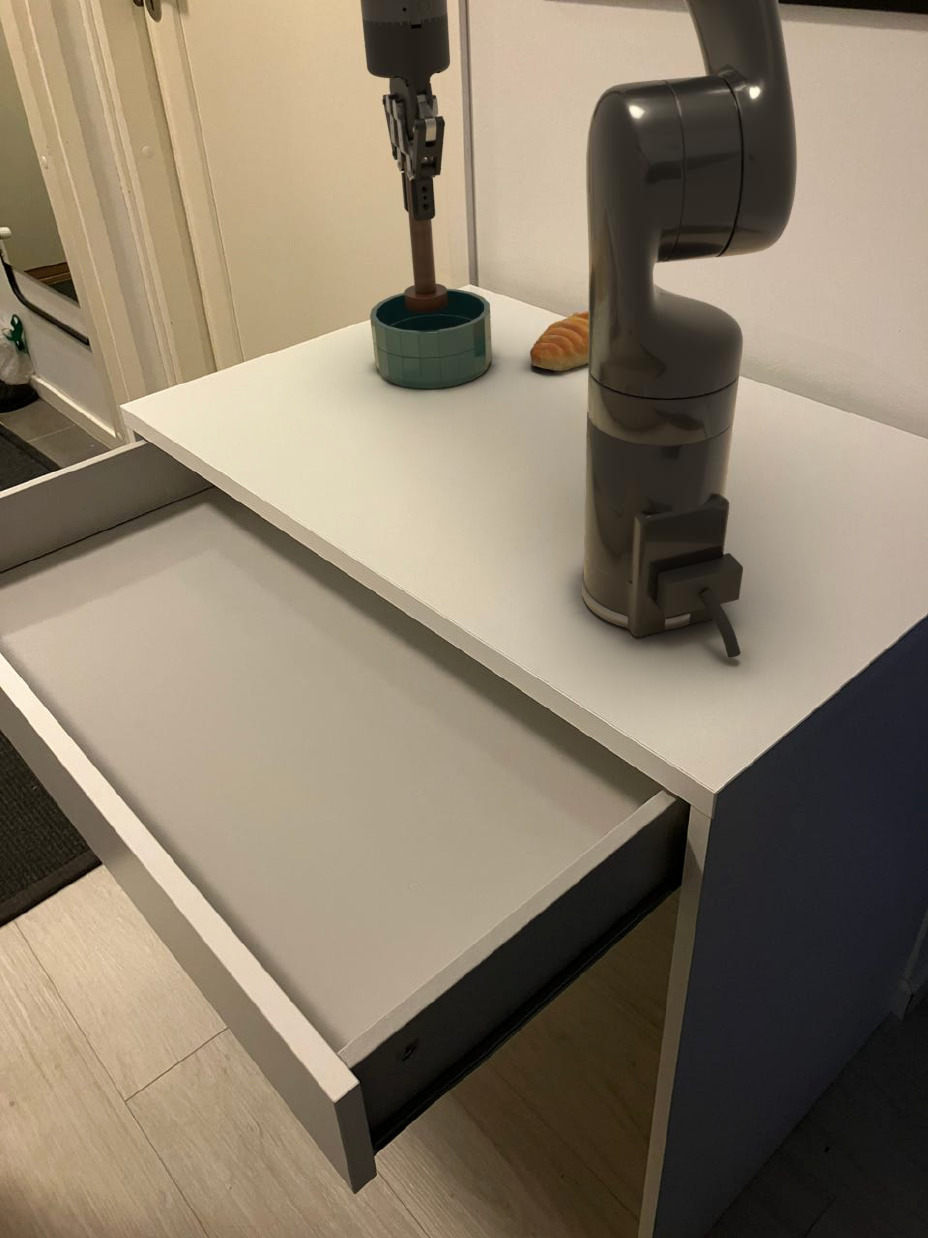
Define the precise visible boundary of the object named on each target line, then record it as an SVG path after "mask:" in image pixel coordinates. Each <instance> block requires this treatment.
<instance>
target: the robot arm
mask: <svg viewBox="0 0 928 1238" xmlns="http://www.w3.org/2000/svg"><path fill="white" fill-rule="evenodd" d="M359 1H360V11H361V21H362V28H363V29H362V30H363V31H362V33H363V39H364V40H363V41H364V51H365V60H366V61H365V62H366V69H367V71H368V73H369V74H370V75H372V76H373V77H377V78H381V79H388V81H389V82H388V84H389V85H388V86H389V87H388V88H389V89H388V90H389V93H387V94H383V95H382V100H381V101H382V105H383V109H384V114H385V120H386V125H387V130H388V136H389V141H390V146H391V156H392V157H393V160H394V161H397V162H396V163H397V164H396V166H397V169H398V170H399V172H401V185H402V198H403V208H404V210H405V211H406V212H407V213H408V203H407V191H406V179H405V167H404V161H405V160H406V161H407V176H408V177H409V189H410V202H411V214H412V217H413V218H414V219H415V220H416V221H423V220H430V219H431V220H432V219H434V218H435V216H436V203H435V202H436V201H435V188H434V179H435V178H436V176H441V172H442V163H443V162H442V161H443V149H444V139H445V126H446V122H445V119H444V116H443V115H439V106H438V98H437V95H436V94H433V89H432V83H431V78H432V77H433V75H435V74H441V73H443V72H445V71H446V70H447V69H448V68H450V66H451V65H450V64H451V54H450V33H449V16H448V15H449V14H448V13H449V12H448V0H359ZM683 2H684V4H685V7H686V9H687V11H688V14H689V16H690V19H691V22H692V24H693V28H694V31H695V35H696V38H697V41H698V45H699V46H698V47H699V49H700V55H701V58H702V64H703V68H704V73H705V75H703V76H691V77H690V76H688V77H679V78H677V77H676V78H665V79H654V80H652V79H651V80H643V81H632V82H625V83H620V84H615V85H612V86H611V87H609V88H607V89H605V91H604V92H602V94H601V95H600V96H599V98H598V99H597V101H596V103H595V105H594V108H593V110H592V114H591V117H590V121H589V127H588V130H587V138H586V139H587V140H586V155H585V189H586V194H585V195H586V211H587V212H586V214H587V215H586V216H587V217H586V219H587V237H588V238H587V240H588V241H587V243H588V244H587V245H588V246H587V247H588V248H587V249H588V311H589V363H588V371H587V409H586V410H587V412H586V442H585V443H586V447H585V448H586V449H585V483H584V484H585V485H584V487H585V489H584V493H585V494H584V526H583V527H584V528H583V529H584V531H583V572H582V575H581V595H582V598H583V601H584V602H585V604H586V606H587V607H588V609H590V610H591V611H592V612H593V613H594V614H595V615H597V616H598V617H599V618H601V619H604V620H605V621H607V622H608V623H611V624H613V625H616V626H619V627H622V628H626V629H627V630H628V631H629V632H630V633H631V634H632V635H633V636H634V637H636V638H640V637H645V636H649V635H652V634H653V635H654V634H657V633H662V632H665V631H669V630H674V629H678V628H683V627H686V626H690V625H693V624H698V623H701V622H707V621H709V620H713V622H714V624H715V625H716V627H717V629H718V631H719V633H720V635H721V638H722V641H723V644H724V647H725V651H726V655H727V657H728V658H730V659H732V658H737V657H738V656H740V655H741V650H740V646H739V643H738V642H739V641H738V638H737V635H736V632H735V630H734V627H733V625H732V623H731V621H730V619H729V617H728V615H727V613H726V612H725V610H724V609H723V607H722V605H723V604H726V603H731V602H734V601H738V600H739V599H740V593H741V586H742V578H743V571H744V566H743V565H742V564H741V563H740V562H739V561H738V560H737V559H736V558H735V557H734V555H732V553H730V552H728V553H725V547H726V538H727V530H728V522H729V515H730V506H731V505H730V501H729V500H728V499H727V498H726V497H725V496H726V488H727V487H726V486H727V478H728V471H729V461H730V455H731V454H730V453H731V447H732V446H731V445H732V437H733V430H734V429H733V428H734V419H735V413H736V406H737V405H736V404H737V397H738V389H739V380H740V373H741V367H742V366H741V365H742V357H743V346H744V338H743V337H744V336H743V331H742V328H741V326H740V324H739V322H738V321H737V320H736V319H735V318H734V316H732V314H731V315H730V314H729V313H728V312H727V311H725V310H723V309H722V308H720V307H717V306H716V305H713V304H712V303H708V302H705V301H703V300H698V299H695V298H692V297H688V296H685V295H681V294H678V293H674V292H671V291H670V290H667V289H664V288H663V287H660V286H659V285H657V284H655V283H654V268H655V265H656V264H661V263H671V262H682V261H692V260H693V261H694V260H703V259H713V258H725V257H733V256H734V257H735V256H742V255H748V254H754V253H758V252H764V251H765V250H768V249H770V248H771V247H772V246H773V245H775V244H776V243H777V242H778V241H779V240H780V239H781V237H782V236H783V234H784V232H785V230H786V229H787V226H788V224H789V221H790V218H791V214H792V211H793V207H794V202H795V197H796V187H797V185H796V184H797V172H798V155H797V154H798V149H797V147H798V146H797V133H796V120H795V110H794V109H795V108H794V101H793V95H792V94H793V93H792V86H791V79H790V70H789V66H788V57H787V52H786V44H785V39H784V38H785V37H784V32H783V31H784V30H783V23H782V18H781V17H782V16H781V12H780V3H779V0H683ZM423 158H425V159H427V162H424V163H421V160H422V159H423ZM721 604H722V605H721Z"/></svg>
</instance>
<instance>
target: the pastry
mask: <svg viewBox="0 0 928 1238" xmlns="http://www.w3.org/2000/svg"><path fill="white" fill-rule="evenodd" d="M529 353H530V355H529V356H530V363H531V366H535V367H538V368H541V369H547V370H550V371H556V372H557V371H558V372H560V373H561V372H562V371H564V372H566V371H569V370H570V369H573V368H580V367H582V366H585V365H586V364H588V365H589V310H588V311H583V312H577V311H576V312H574V313H573V314H572V315H571V316H568V317H567V318H564V319H562V320H558V321H554V322H553V323H551V324H550V325H549V326H548V327H547V328H546V330H544V331H543V333H542V334H541V335H539V337H538V339H536V341H535V343H534V344H533V346H532V347H531V349H530V351H529Z"/></svg>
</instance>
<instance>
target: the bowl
mask: <svg viewBox="0 0 928 1238" xmlns="http://www.w3.org/2000/svg"><path fill="white" fill-rule="evenodd" d="M447 297H448V304H447V306H446V307H445V308H443V309H441V310H438V311H434V312H427V313H420V312H413V311H410V310H408V309H407V308H406V306H405V296H404V292H401V293H398V294H395V295H394V294H393V295H391V296H389V297H387V298H385V299H383V300H381V301H379V302H378V303H376V304H375V306H373V307H372V308H371V311H370V315H369V318H370V328H371V337H372V338H371V339H372V346H373V354H374V364H375V366H376V367H377V370H378V371H379V373H380V375H381V376H382V377H383V379H385V380H386V381H388V382H390V383H391V384H394V385H398V386H399V387H400V386H401V387H405V388H412V389H426V390H429V389H430V390H431V389H442V388H449V387H455V386H459V385H462V384H465V383H469V382H471V381H473V380H475V379H478V378H479V377H480V376H482V375H483V374H484V373H485V372H486V371H487V370H488V368H489V366H490V362H491V361H492V360H493V352H492V351H493V350H492V349H493V348H492V347H493V346H492V323H491V321H492V320H491V304H490V302H489V301H488V300H487V299H486V298H485V297H484V296H482V295H479V294H477V293H476V292H472V291H469V290H463V289H457V288H447Z"/></svg>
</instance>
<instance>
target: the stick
mask: <svg viewBox="0 0 928 1238" xmlns="http://www.w3.org/2000/svg"><path fill="white" fill-rule="evenodd" d="M424 162H427V158H423V159H422V160H421V163H424ZM404 167H405V179H406V191H407V203H408V212H407V213H408V225H409V236H410V237H409V238H410V249H411V261H412V274H413V285H410V286H408V287H406V289H404V291H403V293H404V296H405V306H406V308H407V309H408V310H410V311H413V312H420V313H427V312H434V311H438V310H441V309H443V308H445V307H446V306H447V304H448V297H447V289H448V288H447V287H446V286H445V285H443V284H440V283H437V281H436V265H435V252H434V239H433V238H434V237H433V236H434V235H433V223H432V219H430V220H423V221H416V220H415V219H414V218H413V217H412V214H411V202H410V189H409V177H408V176H407V161H406V160H405V161H404Z"/></svg>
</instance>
